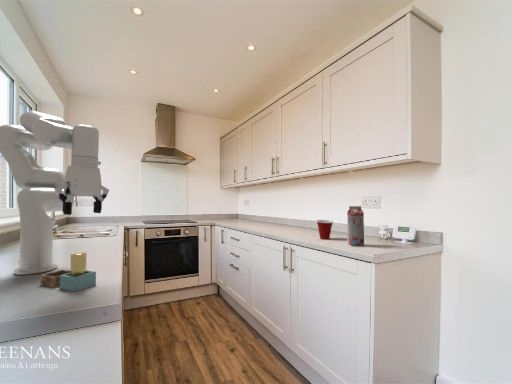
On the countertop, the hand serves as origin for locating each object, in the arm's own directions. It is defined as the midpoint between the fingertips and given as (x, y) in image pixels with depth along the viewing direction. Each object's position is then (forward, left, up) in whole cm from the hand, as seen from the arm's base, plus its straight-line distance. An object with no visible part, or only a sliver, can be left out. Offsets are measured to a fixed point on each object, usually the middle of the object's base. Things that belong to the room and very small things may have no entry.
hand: (83, 213), depth 85 cm
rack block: (+5, -5, -22) cm, 23 cm away
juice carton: (+84, +97, -22) cm, 130 cm away
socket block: (-4, -5, -22) cm, 23 cm away
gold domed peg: (+5, -5, -22) cm, 23 cm away
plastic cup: (+65, +114, -22) cm, 133 cm away
